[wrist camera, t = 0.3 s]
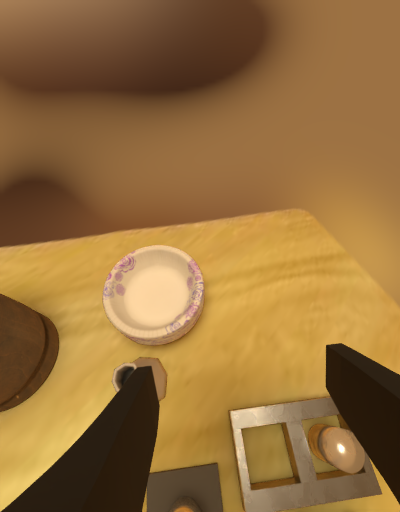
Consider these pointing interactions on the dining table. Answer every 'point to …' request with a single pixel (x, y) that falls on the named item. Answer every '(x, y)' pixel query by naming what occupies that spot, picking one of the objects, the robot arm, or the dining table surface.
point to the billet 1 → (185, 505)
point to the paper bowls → (154, 294)
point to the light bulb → (336, 447)
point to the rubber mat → (185, 488)
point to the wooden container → (24, 351)
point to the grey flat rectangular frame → (297, 461)
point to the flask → (128, 368)
